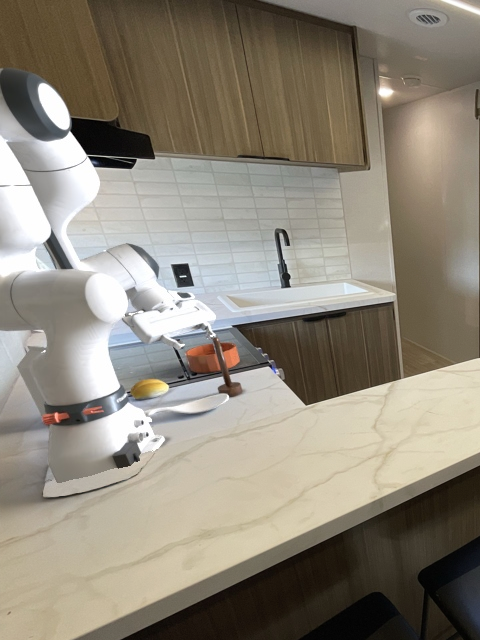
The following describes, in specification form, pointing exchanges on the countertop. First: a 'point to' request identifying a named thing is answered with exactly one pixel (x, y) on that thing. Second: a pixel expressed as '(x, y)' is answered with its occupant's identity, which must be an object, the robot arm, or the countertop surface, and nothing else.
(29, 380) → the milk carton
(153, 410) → the spoon
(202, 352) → the bowl
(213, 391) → the countertop surface
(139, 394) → the bread roll
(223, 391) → the wooden masher
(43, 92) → the robot arm
